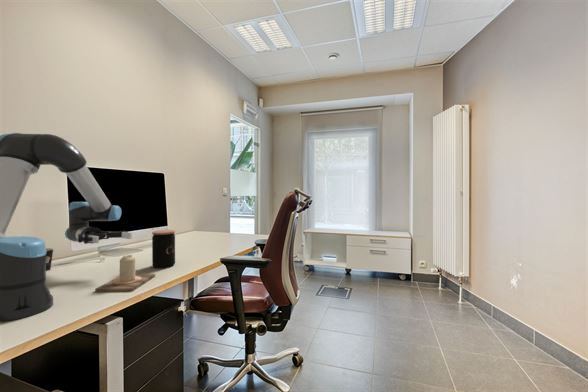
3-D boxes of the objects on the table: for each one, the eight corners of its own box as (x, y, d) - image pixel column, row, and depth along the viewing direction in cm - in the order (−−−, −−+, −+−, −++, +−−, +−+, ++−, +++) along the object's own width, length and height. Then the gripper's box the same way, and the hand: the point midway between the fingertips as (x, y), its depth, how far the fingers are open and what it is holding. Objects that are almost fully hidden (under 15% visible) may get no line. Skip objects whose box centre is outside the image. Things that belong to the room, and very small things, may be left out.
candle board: (132, 291, 102) (132, 287, 102) (95, 291, 102) (95, 287, 102) (155, 276, 120) (155, 273, 120) (123, 277, 120) (123, 273, 120)
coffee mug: (53, 267, 136) (52, 247, 136) (54, 270, 130) (53, 250, 130) (20, 271, 128) (20, 251, 128) (19, 275, 122) (19, 253, 122)
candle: (128, 282, 108) (127, 257, 108) (116, 281, 109) (116, 257, 109) (138, 278, 113) (138, 254, 113) (127, 277, 114) (127, 254, 114)
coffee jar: (169, 268, 133) (169, 232, 133) (148, 268, 133) (147, 232, 133) (178, 263, 143) (178, 229, 143) (159, 263, 144) (158, 229, 143)
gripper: (116, 239, 137) (142, 242, 127) (56, 247, 115) (81, 251, 105) (117, 224, 137) (142, 226, 127) (56, 229, 115) (81, 232, 105)
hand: (115, 237), depth 116 cm, fingers open, 13 cm apart
